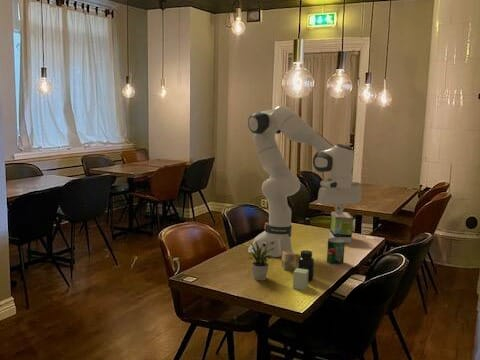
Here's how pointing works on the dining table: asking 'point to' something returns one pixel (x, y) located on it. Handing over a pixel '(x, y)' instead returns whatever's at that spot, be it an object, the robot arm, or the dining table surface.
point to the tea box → (341, 226)
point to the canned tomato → (335, 251)
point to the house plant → (260, 262)
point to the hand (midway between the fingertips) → (338, 213)
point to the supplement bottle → (307, 263)
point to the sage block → (300, 279)
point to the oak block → (288, 260)
